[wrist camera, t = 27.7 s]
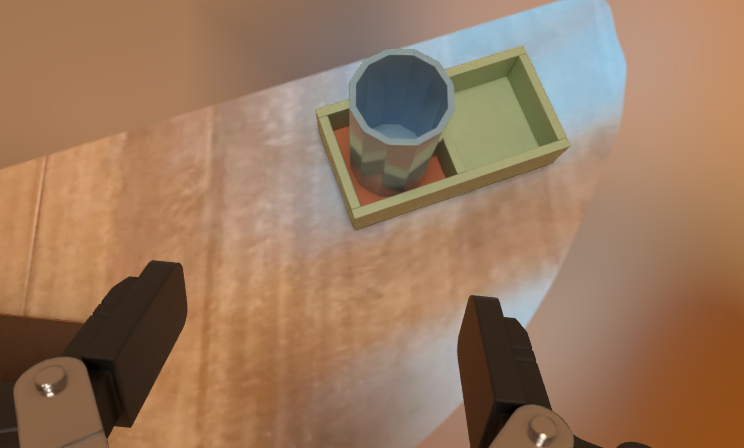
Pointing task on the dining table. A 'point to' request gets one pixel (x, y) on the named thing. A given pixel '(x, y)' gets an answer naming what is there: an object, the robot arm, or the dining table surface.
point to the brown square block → (31, 342)
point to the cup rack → (461, 137)
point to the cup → (397, 119)
